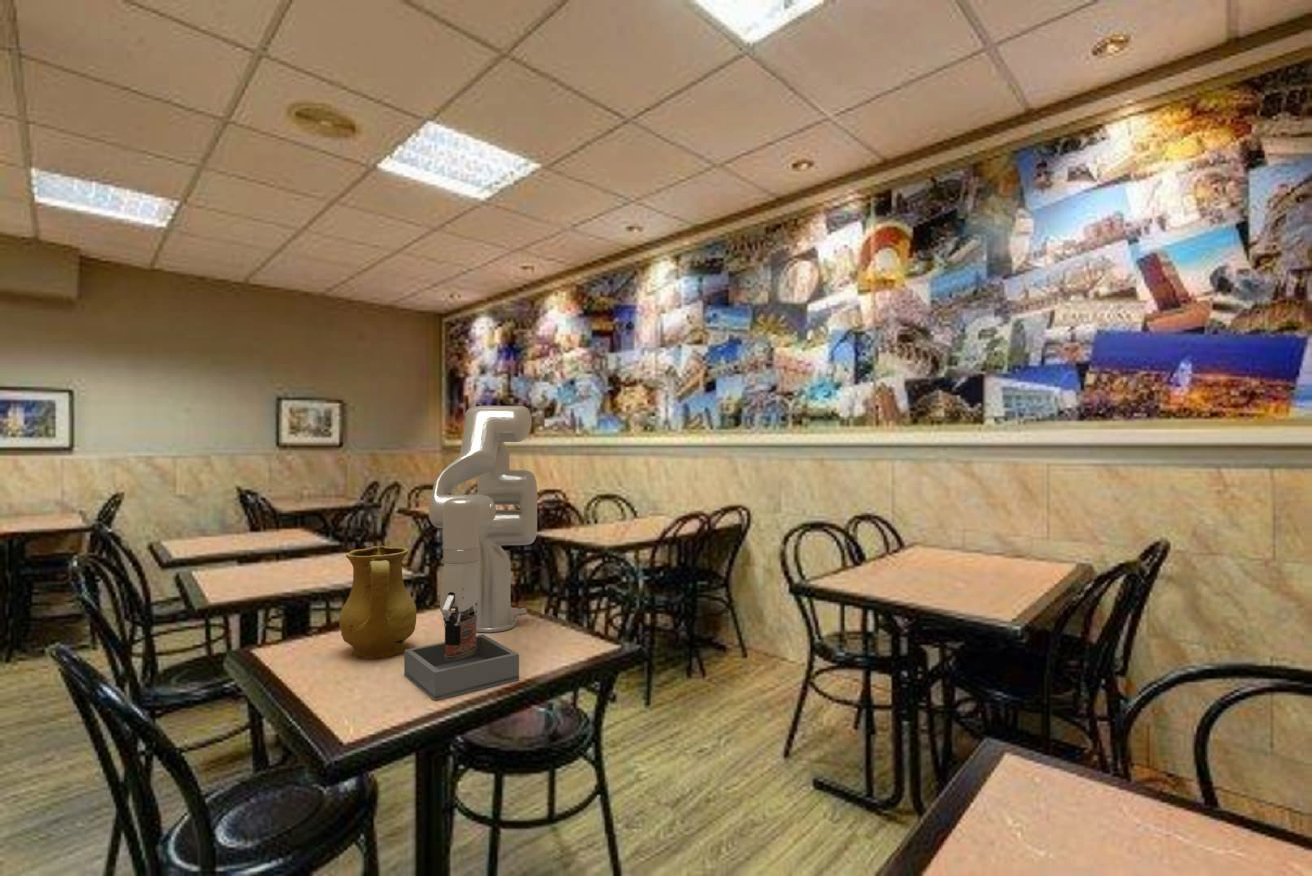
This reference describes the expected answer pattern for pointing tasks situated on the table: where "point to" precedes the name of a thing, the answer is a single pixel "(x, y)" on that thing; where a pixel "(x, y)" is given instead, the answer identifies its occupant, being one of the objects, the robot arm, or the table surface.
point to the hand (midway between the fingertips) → (461, 638)
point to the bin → (460, 668)
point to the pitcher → (377, 604)
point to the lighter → (464, 637)
